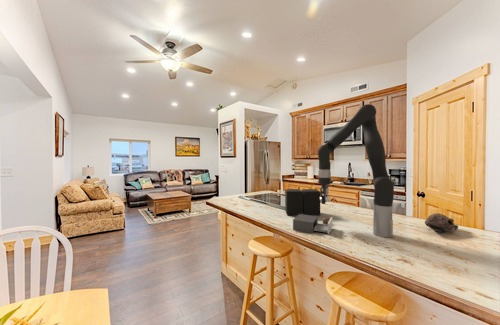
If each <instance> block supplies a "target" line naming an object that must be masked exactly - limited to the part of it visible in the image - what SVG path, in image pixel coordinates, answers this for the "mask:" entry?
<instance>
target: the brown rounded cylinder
mask: <svg viewBox="0 0 500 325" xmlns="http://www.w3.org/2000/svg"><path fill="white" fill-rule="evenodd" d="M329 220H330V217H322V224H326V225H328V222H329Z"/></svg>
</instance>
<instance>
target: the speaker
mask: <svg viewBox="0 0 500 325" xmlns="http://www.w3.org/2000/svg"><path fill="white" fill-rule="evenodd" d="M284 193H285V194H284V196H285V197H284V199H285V200H284V204H285V205H284V206H285V207H284V208H285V209H284V211H285V213H286V216H298V215H299V214H303V215H311V216H318V217H319V216H321V201H320V196H321V195H320V190H318V189H317V188H303V189H300V188H293V189H292V188H286V189H285V191H284Z"/></svg>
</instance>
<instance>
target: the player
mask: <svg viewBox="0 0 500 325" xmlns="http://www.w3.org/2000/svg"><path fill="white" fill-rule="evenodd" d="M318 217H319V216H317V215H304V213H303V214H299V215H295V217H294V218H293V219H292V230H293V231H297V232H304V233H309V234H313V233H314V232H315V231H314V227H315V226H316V224H317V223H319V222H318Z"/></svg>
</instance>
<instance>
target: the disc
mask: <svg viewBox="0 0 500 325" xmlns="http://www.w3.org/2000/svg"><path fill="white" fill-rule="evenodd" d="M329 202H330V196H327V197H326V198H325V203H329ZM320 203H322V198H321V197H320Z"/></svg>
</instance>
